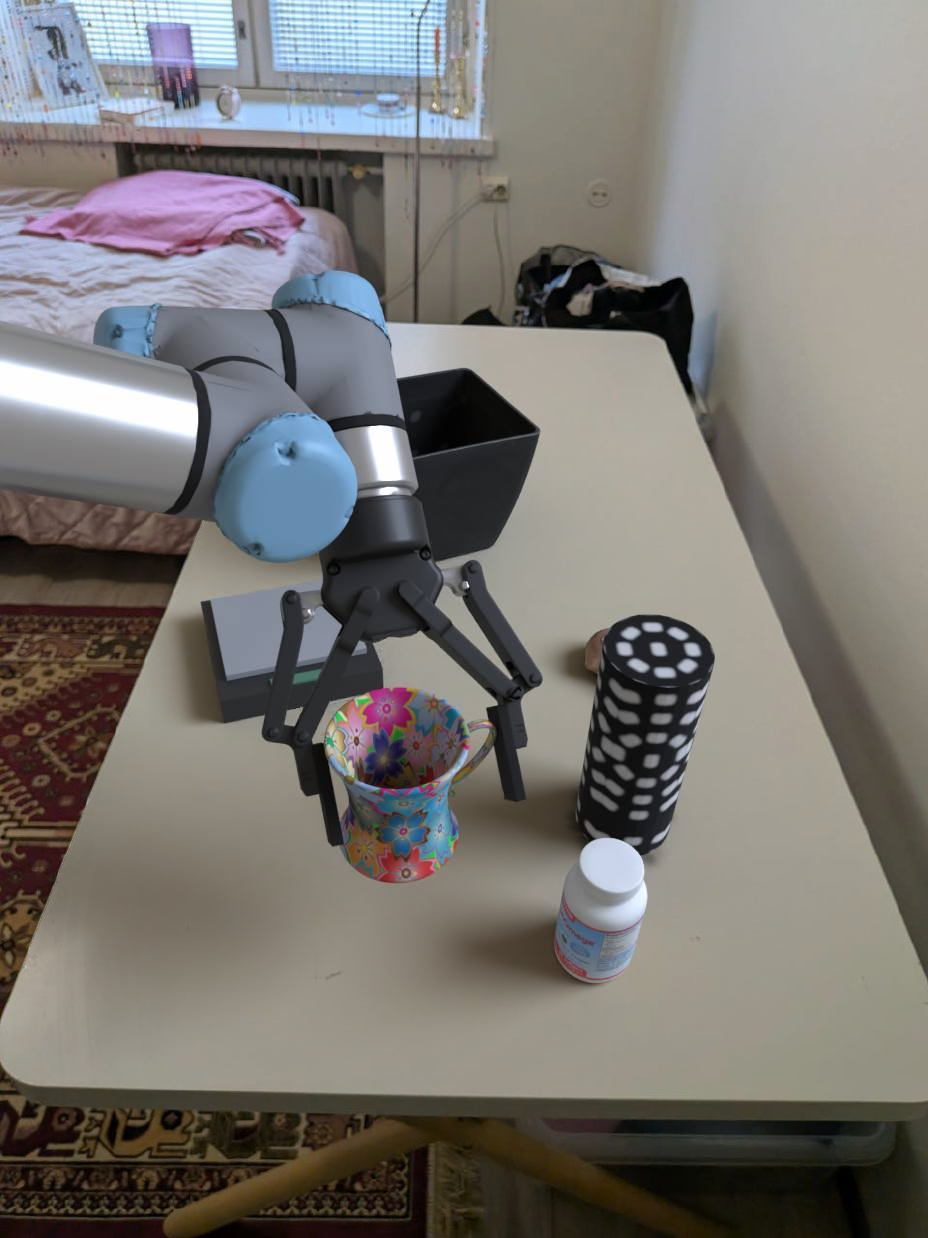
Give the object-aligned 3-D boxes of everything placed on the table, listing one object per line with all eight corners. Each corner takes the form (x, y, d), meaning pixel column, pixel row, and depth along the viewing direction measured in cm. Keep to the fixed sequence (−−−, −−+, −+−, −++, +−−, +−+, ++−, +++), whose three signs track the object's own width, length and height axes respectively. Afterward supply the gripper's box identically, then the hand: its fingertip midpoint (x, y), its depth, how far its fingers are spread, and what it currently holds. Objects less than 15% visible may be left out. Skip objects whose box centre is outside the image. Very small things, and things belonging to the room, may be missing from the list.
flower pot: (464, 479, 126) (468, 362, 115) (533, 553, 113) (545, 429, 102) (333, 510, 119) (324, 389, 109) (390, 592, 106) (386, 464, 96)
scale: (224, 723, 90) (218, 695, 87) (204, 622, 101) (199, 595, 99) (383, 690, 94) (382, 662, 92) (347, 596, 106) (345, 570, 103)
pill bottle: (540, 930, 73) (553, 842, 66) (608, 906, 75) (627, 818, 68) (575, 998, 69) (593, 912, 62) (646, 971, 71) (671, 885, 64)
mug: (362, 916, 61) (356, 813, 54) (314, 815, 67) (303, 711, 60) (520, 851, 65) (533, 748, 59) (461, 762, 72) (466, 659, 65)
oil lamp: (572, 698, 95) (649, 717, 93) (575, 673, 92) (655, 692, 90) (589, 636, 101) (663, 653, 99) (593, 611, 98) (669, 627, 96)
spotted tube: (677, 857, 79) (726, 688, 66) (581, 856, 79) (611, 687, 66) (660, 782, 86) (701, 614, 73) (570, 781, 85) (596, 613, 73)
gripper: (513, 494, 70) (572, 778, 68) (186, 542, 63) (244, 857, 62) (547, 467, 63) (614, 783, 61) (181, 518, 56) (247, 874, 55)
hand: (428, 821), depth 62 cm, fingers closed on mug, 12 cm apart
